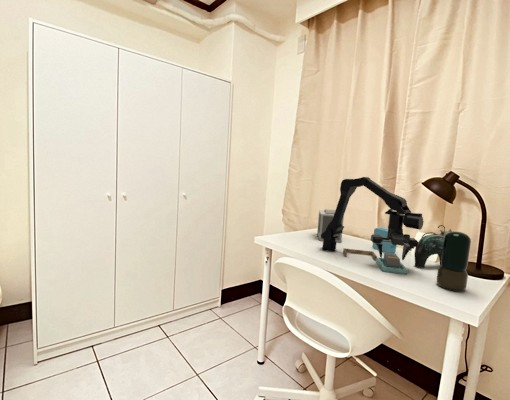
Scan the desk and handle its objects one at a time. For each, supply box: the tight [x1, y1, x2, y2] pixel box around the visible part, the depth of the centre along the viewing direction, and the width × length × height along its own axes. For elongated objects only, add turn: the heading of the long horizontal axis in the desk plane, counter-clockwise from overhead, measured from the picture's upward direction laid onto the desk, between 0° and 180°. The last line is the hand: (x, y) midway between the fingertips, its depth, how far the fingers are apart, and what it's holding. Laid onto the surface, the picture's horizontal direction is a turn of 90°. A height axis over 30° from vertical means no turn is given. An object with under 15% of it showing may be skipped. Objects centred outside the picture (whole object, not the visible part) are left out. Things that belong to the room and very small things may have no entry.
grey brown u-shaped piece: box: [342, 247, 378, 261], centre depth 144 cm, size 15×9×2 cm, turn 77°
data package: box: [372, 227, 397, 254], centre depth 156 cm, size 12×4×12 cm, turn 24°
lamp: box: [436, 230, 472, 292], centre depth 109 cm, size 10×10×22 cm
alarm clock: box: [316, 208, 345, 244], centre depth 177 cm, size 18×13×18 cm
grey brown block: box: [383, 252, 401, 268], centre depth 129 cm, size 5×9×5 cm, turn 164°
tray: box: [375, 256, 408, 275], centre depth 129 cm, size 10×14×2 cm
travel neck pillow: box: [414, 224, 453, 269], centre depth 133 cm, size 20×6×20 cm, turn 102°
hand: (391, 258), depth 129 cm, fingers open, 9 cm apart
